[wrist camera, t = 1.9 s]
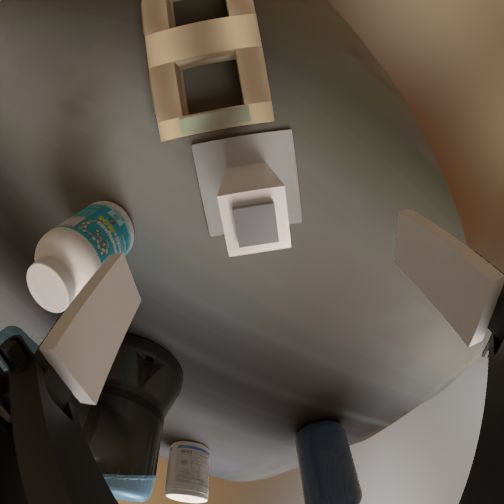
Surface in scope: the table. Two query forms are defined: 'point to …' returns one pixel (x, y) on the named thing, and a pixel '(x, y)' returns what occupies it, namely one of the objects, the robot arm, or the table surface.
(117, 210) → the pill bottle
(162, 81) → the socket block
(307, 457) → the lamp
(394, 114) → the table surface
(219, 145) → the mat
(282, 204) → the plug
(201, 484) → the supplement tub
